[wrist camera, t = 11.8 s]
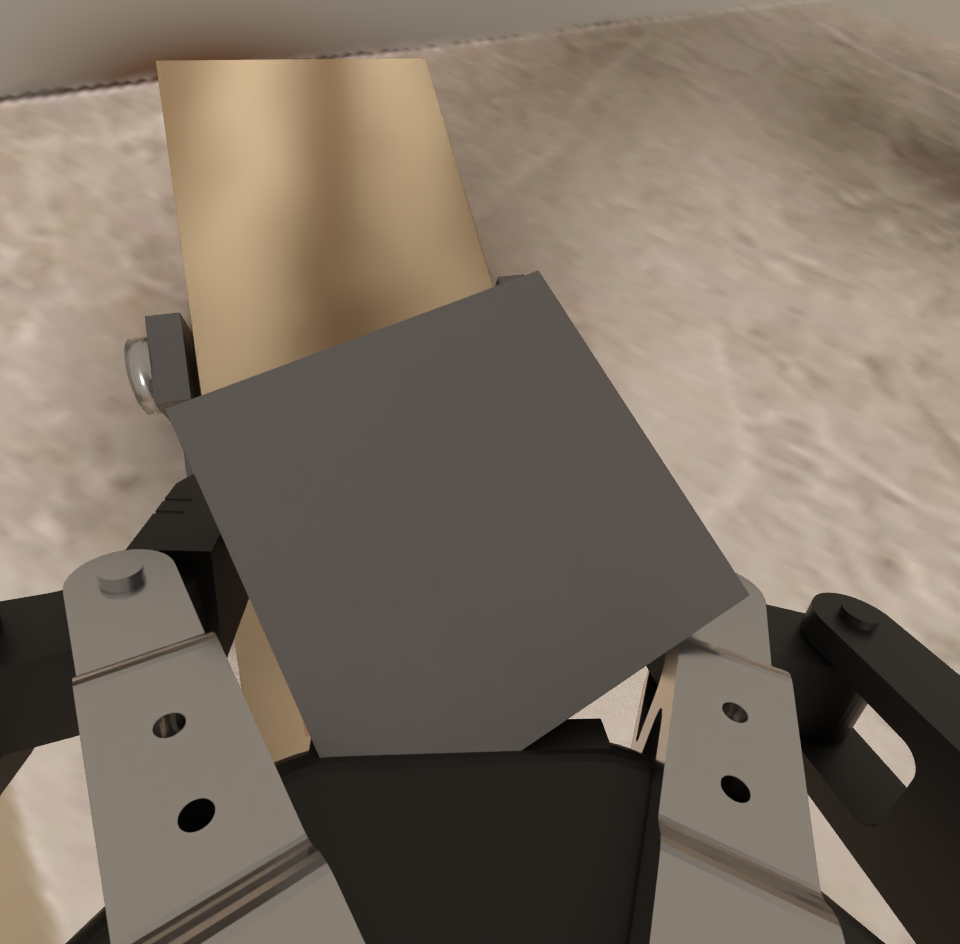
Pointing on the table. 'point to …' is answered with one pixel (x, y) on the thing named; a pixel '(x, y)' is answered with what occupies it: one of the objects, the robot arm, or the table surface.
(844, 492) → the table surface
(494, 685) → the block
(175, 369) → the seesaw stand
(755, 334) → the table surface
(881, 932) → the table surface
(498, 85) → the table surface
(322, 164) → the seesaw plank
